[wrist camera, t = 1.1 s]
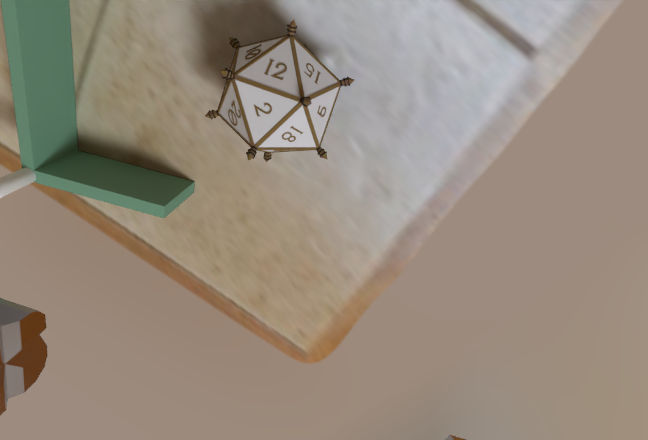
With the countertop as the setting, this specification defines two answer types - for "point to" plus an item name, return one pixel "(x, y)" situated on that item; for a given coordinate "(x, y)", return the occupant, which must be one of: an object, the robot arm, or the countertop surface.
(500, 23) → the countertop surface
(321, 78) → the game die
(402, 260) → the countertop surface
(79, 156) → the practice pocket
